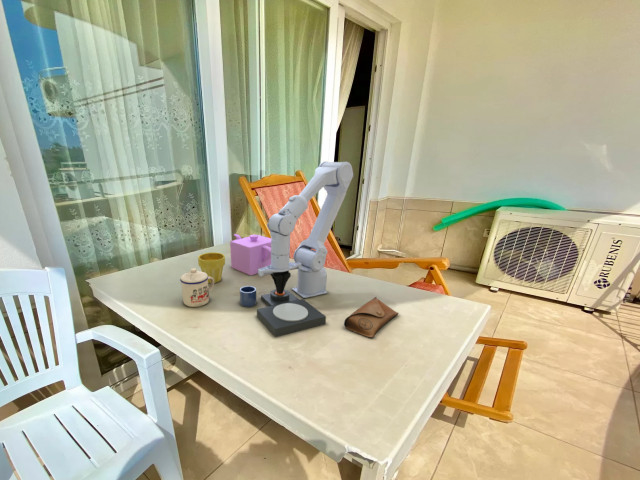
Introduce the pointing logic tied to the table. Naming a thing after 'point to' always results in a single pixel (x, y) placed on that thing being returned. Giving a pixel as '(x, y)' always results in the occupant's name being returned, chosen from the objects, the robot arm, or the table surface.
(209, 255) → the flower pot
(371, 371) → the table surface
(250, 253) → the teapot
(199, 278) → the teacup with lid
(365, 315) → the sunglasses case
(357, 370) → the table surface
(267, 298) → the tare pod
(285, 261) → the robot arm
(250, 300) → the blue cup
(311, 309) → the scale
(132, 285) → the table surface
